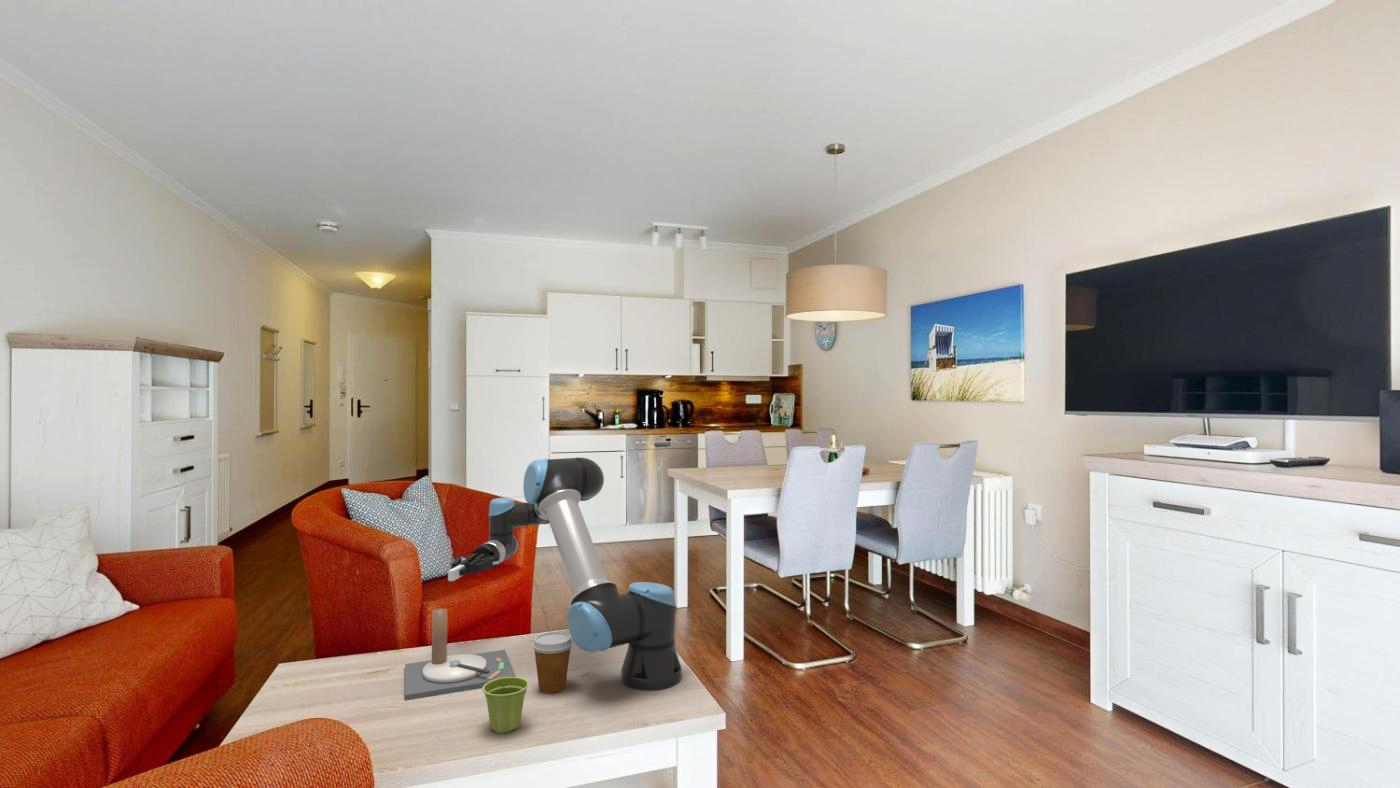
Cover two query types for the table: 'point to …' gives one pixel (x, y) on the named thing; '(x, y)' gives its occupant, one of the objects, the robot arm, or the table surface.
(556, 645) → the disposable coffee cup
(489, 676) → the dial plate
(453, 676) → the post on round base
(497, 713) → the plant pot
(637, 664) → the robot arm
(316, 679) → the table surface
